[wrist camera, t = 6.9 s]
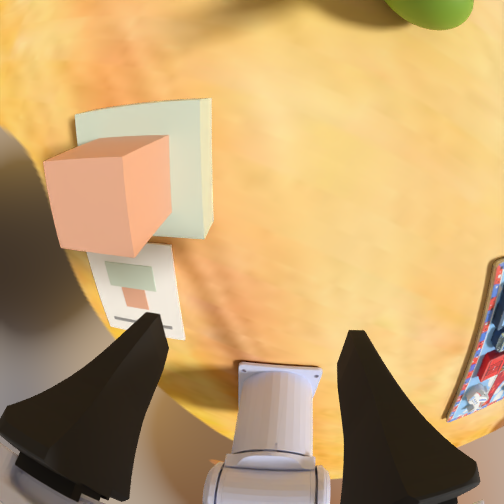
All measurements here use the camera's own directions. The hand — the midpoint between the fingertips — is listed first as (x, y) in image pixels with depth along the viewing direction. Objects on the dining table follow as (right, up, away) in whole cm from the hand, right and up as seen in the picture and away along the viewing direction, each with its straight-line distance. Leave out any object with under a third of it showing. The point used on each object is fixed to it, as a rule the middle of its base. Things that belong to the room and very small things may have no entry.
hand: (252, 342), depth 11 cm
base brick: (-6, +9, +7) cm, 14 cm away
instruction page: (-10, 0, +13) cm, 16 cm away
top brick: (-7, +8, +5) cm, 11 cm away
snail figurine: (+9, +18, 0) cm, 20 cm away
